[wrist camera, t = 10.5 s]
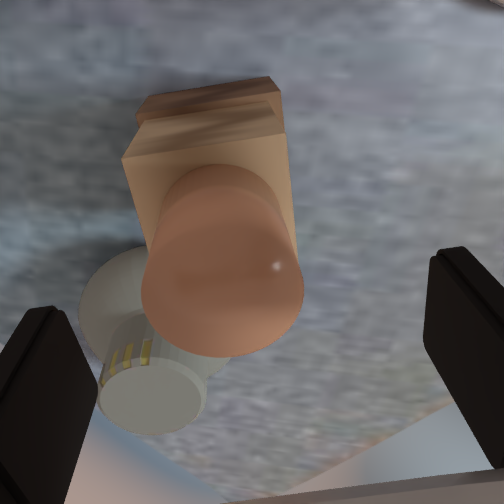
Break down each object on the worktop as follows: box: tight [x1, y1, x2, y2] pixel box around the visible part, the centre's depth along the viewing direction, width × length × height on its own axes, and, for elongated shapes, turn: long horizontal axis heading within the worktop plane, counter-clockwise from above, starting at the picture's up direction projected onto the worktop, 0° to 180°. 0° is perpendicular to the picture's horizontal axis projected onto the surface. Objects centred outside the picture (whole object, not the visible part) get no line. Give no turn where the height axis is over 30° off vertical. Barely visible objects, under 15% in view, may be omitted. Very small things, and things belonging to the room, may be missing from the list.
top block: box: [121, 101, 298, 261], centre depth 20 cm, size 6×6×6 cm
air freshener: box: [78, 245, 231, 435], centre depth 27 cm, size 11×8×10 cm
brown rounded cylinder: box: [141, 164, 304, 358], centre depth 15 cm, size 5×5×5 cm
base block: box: [135, 76, 285, 131], centre depth 24 cm, size 7×7×5 cm
